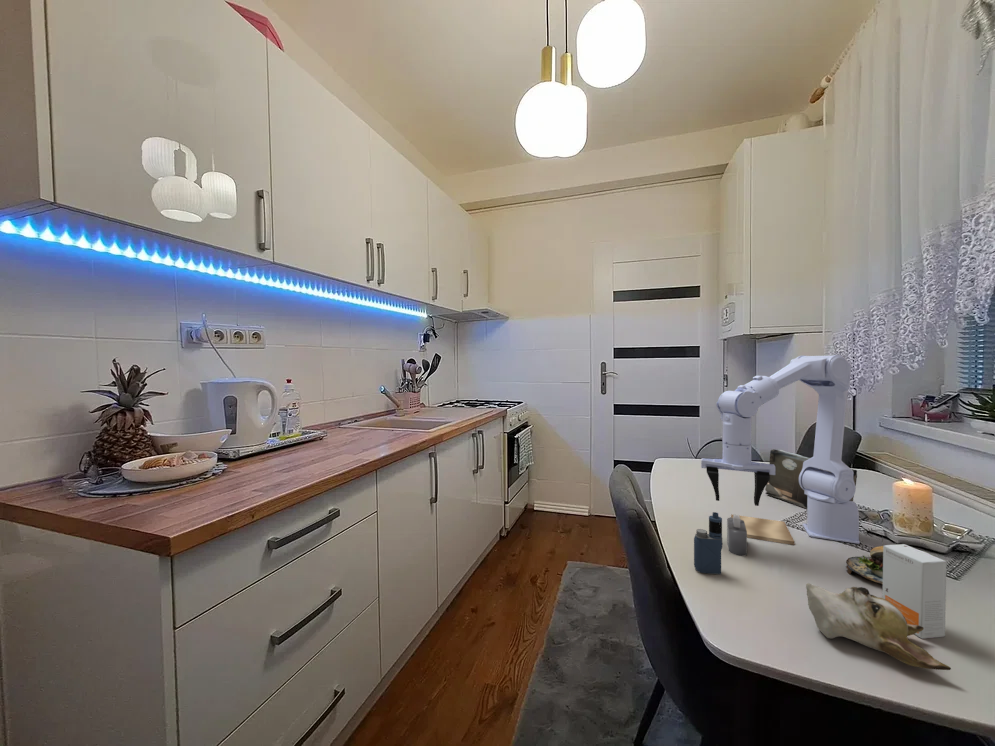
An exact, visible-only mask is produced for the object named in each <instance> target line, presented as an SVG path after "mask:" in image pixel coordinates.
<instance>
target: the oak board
mask: <svg viewBox="0 0 995 746" xmlns="http://www.w3.org/2000/svg"><path fill="white" fill-rule="evenodd" d="M738 515H739V516H740V519H741V520H743V521H744V523H745V526H746V530H747V538H748V539H754V540H761V541H765V542H771V543H773V542H774V543H779V544H785V545H791V546H792V545H793V546H795V539H794V537H793V536H792V534H791V532H790V531H789V528H788V526H787V524H786V522H785V521H783V520H775V519H767V518H760V517H752V516H745V515H740V514H738ZM730 518H733V514H732V513H731V515H730Z"/></svg>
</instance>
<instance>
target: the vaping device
mask: <svg viewBox="0 0 995 746" xmlns="http://www.w3.org/2000/svg"><path fill="white" fill-rule="evenodd" d="M695 532H696V533H695V534H694V537H693V565H694V569H695V571H697V573H702V574H710V575H711V574H712V575H722V549H723V544H724V543H723V518H722V517H721V516H719V512H717V511H716V512H715V511H713V512H712V515H709V516H708V531H707V530H705V529H701V528H697V529H696V531H695Z"/></svg>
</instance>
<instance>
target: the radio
mask: <svg viewBox="0 0 995 746" xmlns="http://www.w3.org/2000/svg"><path fill="white" fill-rule="evenodd" d="M810 458H811V457H807V456H803V455H800V454H797V453H793V452H789V451H785V450H783V449H776V448H775V449H771V450H770V452H769V464H773V465H775V475H770V474H769V476H770V480H769V482H768V483H767V485H766V486H765V488H764V490H765V495H768V496H771V497H774V498H776V499H779V500H782V501H784V502H786V503H790V504H792V505H794V506H797V507H801V508H804V509H806V510H807V496H808V495H806V494H804V490H803V489H802V488H801V487H800V484H799V475H800V473H801V471H802V468H803V462H804V461H806V460H808V459H810ZM850 469H851V470H852V471H853V472H854V474H853V479H854V483H855V487H856V485H857V477H858V473H857V472H858V470H857V469H854V468H850ZM820 470H822V469H820ZM824 471H826V470H824ZM828 472H830V471H828ZM856 488H857V487H856ZM854 498H855V495H854V496H853V497H852V498H851V499H850V500H849V501H853V502H854Z"/></svg>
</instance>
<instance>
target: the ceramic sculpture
mask: <svg viewBox="0 0 995 746" xmlns="http://www.w3.org/2000/svg"><path fill="white" fill-rule="evenodd" d="M805 588H806V596H807V605H808V609H809V611H810V612H811V614H812V616H813V619H814V621H815V624H816V627H817V629H818V630H819V631H820V632H821V633H822V634H823V635H824V636H825V637H826V638H827V639H835V638H837V637H844V638H846V639H849V640H851V641H855V642H857V643H858V644H860V645H863V646H865V647H868V648H870V649H873V650H876V651H879V652H883V653H885V654H887V655H889V656H890V657H892V658H894V659H896V660H898V661H899V662H901V663H903V664H906V665H907V666H910V667H915V668H921V669H925V670H926V669H927V670H936V671H937V670H940V671H950V670H952V668H951V667H950V666H949V665H947V664H946V663H943V662H941V661H939V660H937V659H936V658H934V657H933V655H931V654H930V653H929V652H928V651H927V650H925V649H924V648H922V647H921V646H919V645H916V644H915V643H914V642H912V641H910V640H909V638H908V637H909V636H912V635H915V633H917V632H920V631H922V630H923V629H924V628H923V627H921V626H919V625H911V624H907V622H906V619H905V617H904V616H903V615H902V613H901V612H900V611H899V610H898V609H897V608H896V607H895V606H894V605H893V604H891V603H890V602H889V601H887V600H886V599H884V598H882V597H877V596H875V595H874V594H871V593H870V591H869V589H868V588H866V587H862V586H861V587H857V586H852V587H848V588H845V589H844V591H843V592H840V593H839V592H838V593H836V592H832V591H830V590H826V589H825V588H823V587H821V586H818V585H817V586H816V585H814V584H812V583H809V582H808V583H806V585H805Z"/></svg>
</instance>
